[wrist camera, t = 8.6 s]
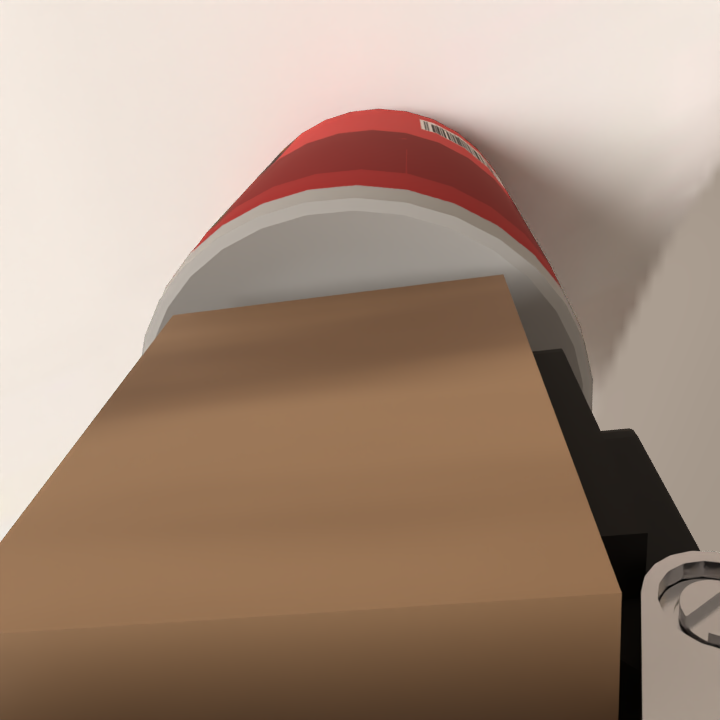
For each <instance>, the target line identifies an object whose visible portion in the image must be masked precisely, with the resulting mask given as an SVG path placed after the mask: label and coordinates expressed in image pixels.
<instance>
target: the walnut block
mask: <svg viewBox="0 0 720 720" xmlns="http://www.w3.org/2000/svg"><path fill="white" fill-rule="evenodd" d="M621 601H622V592H621V590H620V587H619V584H618V582H617V579H616V576H615V574H614V571H613V568H612V565H611V563H610V560H609V557H608V555H607V552H606V549H605V547H604V544H603V541H602V539H601V536H600V533H599V530H598V528H597V525H596V522H595V520H594V517H593V514H592V512H591V509H590V506H589V504H588V501H587V498H586V495H585V493H584V490H583V487H582V485H581V482H580V479H579V477H578V474H577V471H576V469H575V466H574V463H573V460H572V458H571V455H570V452H569V450H568V447H567V444H566V442H565V439H564V436H563V434H562V431H561V428H560V426H559V423H558V420H557V417H556V415H555V412H554V409H553V407H552V404H551V401H550V399H549V396H548V393H547V391H546V388H545V385H544V382H543V380H542V377H541V374H540V372H539V369H538V366H537V364H536V361H535V358H534V356H533V353H532V350H531V347H530V345H529V342H528V339H527V337H526V334H525V331H524V329H523V326H522V323H521V321H520V318H519V315H518V312H517V310H516V307H515V304H514V302H513V299H512V296H511V294H510V291H509V288H508V286H507V283H506V280H505V277H504V275H503V274H502V275H494V276H486V277H478V278H470V279H461V280H453V281H445V282H437V283H429V284H421V285H413V286H405V287H397V288H389V289H381V290H372V291H364V292H356V293H348V294H340V295H332V296H324V297H316V298H308V299H300V300H292V301H283V302H275V303H267V304H259V305H251V306H243V307H235V308H227V309H219V310H211V311H203V312H194V313H186V314H178V315H173V316H172V317H171V318H170V320H169V321H168V322H167V324H166V325H165V326H164V328H163V329H162V330H161V332H160V333H159V334H158V336H157V337H156V338H155V340H154V341H153V342H152V343H151V345H150V346H149V347H148V349H147V350H146V351H145V353H144V354H143V355H142V357H141V358H140V359H139V361H138V362H137V363H136V365H135V366H134V367H133V368H132V370H131V371H130V372H129V374H128V375H127V376H126V378H125V379H124V380H123V382H122V383H121V384H120V386H119V387H118V388H117V390H116V391H115V392H114V393H113V395H112V396H111V397H110V399H109V400H108V401H107V403H106V404H105V405H104V407H103V408H102V409H101V411H100V412H99V413H98V415H97V416H96V417H95V418H94V420H93V421H92V422H91V424H90V425H89V426H88V428H87V429H86V430H85V432H84V433H83V434H82V436H81V437H80V438H79V440H78V441H77V442H76V443H75V445H74V446H73V447H72V449H71V450H70V451H69V453H68V454H67V455H66V457H65V458H64V459H63V461H62V462H61V463H60V465H59V466H58V467H57V468H56V470H55V471H54V472H53V474H52V475H51V476H50V478H49V479H48V480H47V482H46V483H45V484H44V486H43V487H42V488H41V490H40V491H39V492H38V494H37V495H36V496H35V497H34V499H33V500H32V501H31V503H30V504H29V505H28V507H27V508H26V509H25V511H24V512H23V513H22V515H21V516H20V517H19V519H18V520H17V521H16V522H15V524H14V525H13V526H12V528H11V529H10V530H9V532H8V533H7V534H6V536H5V537H4V538H3V540H2V541H1V542H0V720H618V711H619V675H620V638H621Z"/></svg>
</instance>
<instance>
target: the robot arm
mask: <svg viewBox="0 0 720 720" xmlns="http://www.w3.org/2000/svg"><path fill="white" fill-rule="evenodd" d="M532 353H533V356H534V358H535V361H536V364H537V366H538V369H539V372H540V374H541V377H542V380H543V382H544V385H545V388H546V391H547V393H548V396H549V399H550V401H551V404H552V407H553V409H554V412H555V415H556V417H557V420H558V423H559V426H560V428H561V431H562V434H563V436H564V439H565V442H566V444H567V447H568V450H569V452H570V455H571V458H572V460H573V463H574V466H575V469H576V471H577V474H578V477H579V479H580V482H581V485H582V487H583V490H584V493H585V495H586V498H587V501H588V504H589V506H590V509H591V512H592V514H593V517H594V520H595V522H596V525H597V528H598V530H599V533H600V536H601V539H602V541H603V544H604V547H605V549H606V552H607V555H608V557H609V560H610V563H611V565H612V568H613V571H614V574H615V576H616V579H617V582H618V584H619V587H620V590H621V592H622V601H621V638H620V675H619V711H618V720H720V553H719V552H715V551H700V550H699V548H698V546H697V544H696V542H695V541H694V539H693V537H692V535H691V533H690V531H689V530H688V528H687V526H686V524H685V522H684V520H683V519H682V517H681V515H680V513H679V511H678V509H677V507H676V506H675V504H674V502H673V500H672V498H671V496H670V495H669V493H668V491H667V489H666V487H665V486H664V484H663V482H662V480H661V478H660V476H659V474H658V473H657V471H656V469H655V467H654V465H653V463H652V462H651V460H650V458H649V456H648V455H647V452H646V451H645V449H644V447H643V445H642V443H641V442H640V440H639V438H638V436H637V435H636V434H635V432H634V430H632V429H618V430H608V431H600V429H599V427H598V424H597V422H596V420H595V418H594V416H593V414H592V412H591V409H590V407H589V405H588V403H587V401H586V399H585V396H584V394H583V392H582V390H581V388H580V386H579V384H578V381H577V379H576V377H575V375H574V373H573V371H572V368H571V366H570V364H569V362H568V360H567V358H566V355H565V353H564V351H563V350H562V348H560V349H550V350H541V351H532Z"/></svg>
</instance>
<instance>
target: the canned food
mask: <svg viewBox="0 0 720 720" xmlns="http://www.w3.org/2000/svg"><path fill="white" fill-rule="evenodd" d="M502 274H503V275H504V277H505V280H506V283H507V286H508V288H509V291H510V294H511V296H512V299H513V302H514V304H515V307H516V310H517V312H518V315H519V318H520V321H521V323H522V326H523V329H524V331H525V334H526V337H527V339H528V342H529V345H530V347H531V350H532V351H541V350H550V349H560V348H562V350H563V351H564V353H565V355H566V358H567V360H568V362H569V364H570V366H571V368H572V371H573V373H574V375H575V377H576V379H577V381H578V384H579V386H580V388H581V390H582V392H583V394H584V396H585V399H586V401H587V403H588V405H589V407H590V409H591V412H592V384H593V379H592V374H591V370H590V365H589V361H588V357H587V352H586V348H585V343H584V340H583V336H582V332H581V328H580V324H579V322H578V320H577V318H576V316H575V314H574V312H573V310H572V308H571V306H570V304H569V302H568V300H567V298H566V296H565V294H564V292H563V290H562V288H561V286H560V284H559V282H558V280H557V278H556V276H555V274H554V272H553V270H552V268H551V266H550V264H549V262H548V261H547V259H546V257H545V256H544V254H543V252H542V251H541V249H540V247H539V245H538V244H537V242H536V240H535V239H534V237H533V235H532V234H531V232H530V230H529V228H528V227H527V225H526V223H525V222H524V220H523V218H522V217H521V215H520V213H519V211H518V210H517V208H516V206H515V205H514V203H513V201H512V200H511V198H510V196H509V194H508V193H507V191H506V189H505V188H504V186H503V184H502V182H501V181H500V179H499V177H498V176H497V174H496V172H495V171H494V169H493V168H492V167H491V165H490V164H489V163H488V162H487V160H486V159H485V158H484V157H483V155H482V154H481V153H480V152H479V150H478V149H477V148H475V147H474V146H473V145H472V144H471V143H469V142H468V141H467V140H466V139H465V138H463V137H462V136H461V135H460V134H459V133H457V132H456V131H454V130H452V129H450V128H448V127H446V126H444V125H443V124H441V123H439V122H437V121H435V120H433V119H430V118H427V117H423V116H420V115H417V114H413V113H410V112H406V111H396V110H385V109H373V110H364V111H355V112H349V113H346V114H343V115H340V116H337V117H334V118H331V119H327V120H325V121H323V122H321V123H319V124H318V125H316V126H314V127H312V128H311V129H309V130H307V131H305V132H303V133H302V134H301V135H300V136H298V137H297V138H296V139H295V140H294V141H293V142H292V143H290V144H289V145H288V146H287V147H286V148H285V149H284V150H283V151H282V152H281V153H280V154H279V155H278V156H277V157H276V158H275V159H274V160H273V161H272V163H271V164H270V165H269V166H268V167H267V168H266V169H265V170H264V171H263V172H262V173H261V174H260V176H259V177H258V178H257V179H256V180H255V181H254V182H253V183H252V184H251V185H250V186H249V187H248V189H247V190H246V191H245V192H244V193H243V194H242V195H241V196H240V197H239V198H238V199H237V200H236V202H235V203H234V204H233V205H232V206H231V207H230V208H229V209H228V210H227V211H226V212H225V213H224V215H223V216H222V217H221V218H220V219H219V220H218V221H217V222H216V223H215V224H214V225H213V226H212V228H211V229H210V230H209V231H208V232H207V233H206V234H205V236H204V237H203V238H202V240H201V241H200V243H199V244H198V245H197V246H196V247H195V248H194V250H193V251H192V252H191V253H190V254H189V256H188V257H187V258H186V260H185V261H184V262H183V264H182V265H181V267H180V268H179V269H178V271H177V272H176V273H175V275H174V276H173V278H172V279H171V280H170V282H169V283H168V285H167V286H166V288H165V291H164V293H163V296H162V297H161V299H160V300H159V302H158V305H157V307H156V310H155V312H154V315H153V317H152V320H151V322H150V325H149V327H148V329H147V332H146V334H145V338H144V345H143V352H142V355H143V354H144V353H145V351H146V350H147V349H148V347H149V346H150V345H151V343H152V342H153V341H154V340H155V338H156V337H157V336H158V334H159V333H160V332H161V330H162V329H163V328H164V326H165V325H166V324H167V322H168V321H169V320H170V318H171V317H172V316H173V315H178V314H186V313H194V312H203V311H211V310H219V309H227V308H235V307H243V306H251V305H259V304H267V303H275V302H283V301H292V300H300V299H308V298H316V297H324V296H332V295H340V294H348V293H356V292H364V291H372V290H381V289H389V288H397V287H405V286H413V285H421V284H429V283H437V282H445V281H453V280H461V279H470V278H478V277H486V276H494V275H502Z"/></svg>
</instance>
